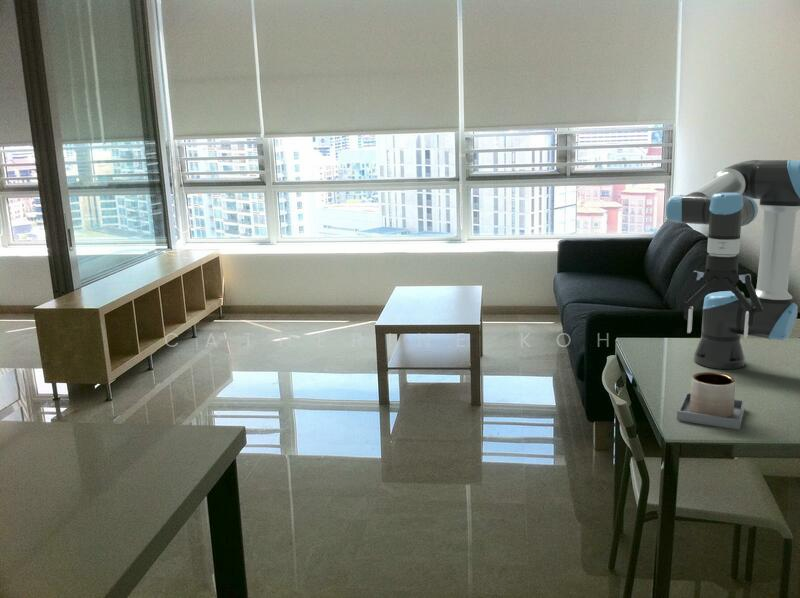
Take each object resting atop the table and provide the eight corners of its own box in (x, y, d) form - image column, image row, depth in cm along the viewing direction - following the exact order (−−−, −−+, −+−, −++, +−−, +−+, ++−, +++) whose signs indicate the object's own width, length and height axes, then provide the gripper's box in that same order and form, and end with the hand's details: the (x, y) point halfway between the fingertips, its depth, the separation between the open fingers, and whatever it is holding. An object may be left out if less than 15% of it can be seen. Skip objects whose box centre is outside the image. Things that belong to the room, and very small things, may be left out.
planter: (738, 421, 192) (741, 386, 190) (694, 419, 194) (696, 384, 192) (727, 405, 203) (730, 372, 201) (685, 404, 205) (688, 371, 203)
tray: (685, 400, 209) (685, 392, 208) (744, 409, 202) (745, 400, 201) (676, 419, 196) (677, 411, 195) (739, 429, 189) (740, 420, 188)
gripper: (669, 253, 191) (664, 332, 196) (776, 259, 180) (769, 343, 185) (673, 249, 198) (669, 325, 203) (778, 254, 186) (770, 335, 191)
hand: (717, 334), depth 194 cm, fingers open, 13 cm apart
